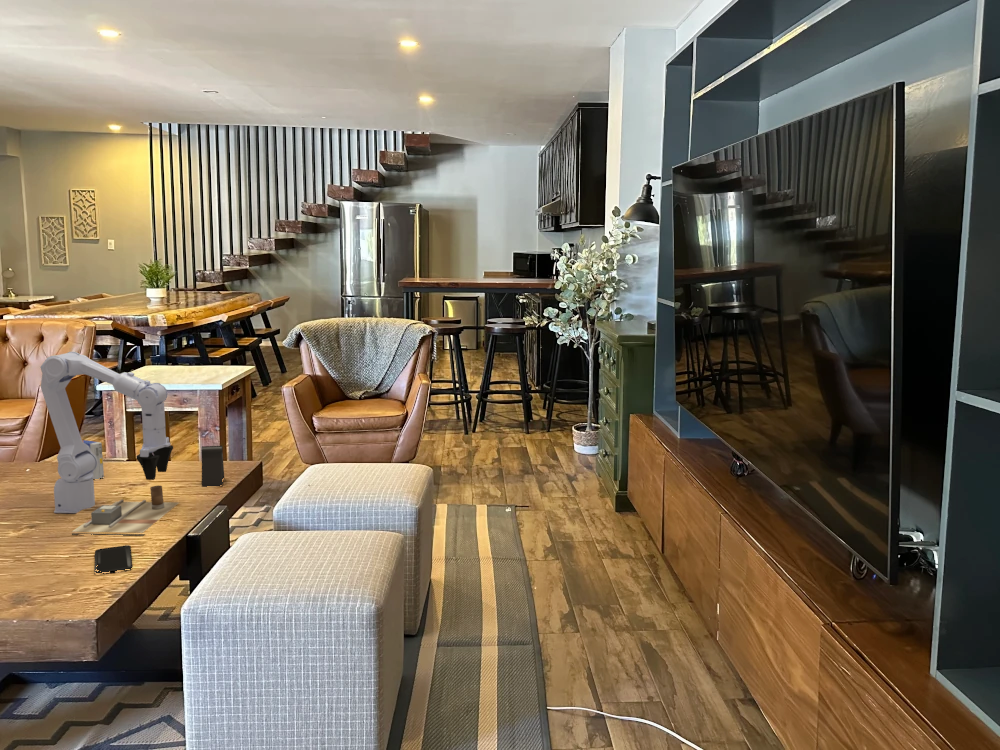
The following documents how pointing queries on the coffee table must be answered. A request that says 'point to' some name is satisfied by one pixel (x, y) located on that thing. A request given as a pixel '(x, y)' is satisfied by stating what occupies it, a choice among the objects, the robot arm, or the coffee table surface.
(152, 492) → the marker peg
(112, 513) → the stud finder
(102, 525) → the cream ridged tray
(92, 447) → the walkman
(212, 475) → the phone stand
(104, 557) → the phone
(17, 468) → the coffee table surface
